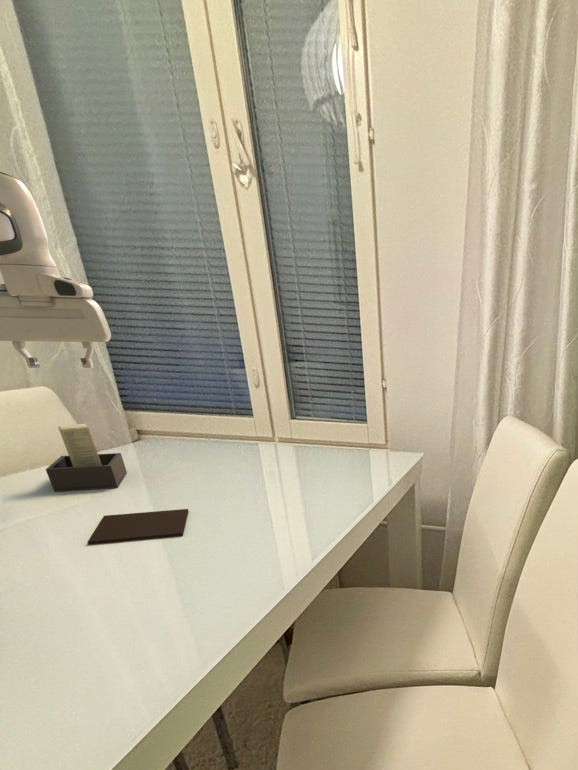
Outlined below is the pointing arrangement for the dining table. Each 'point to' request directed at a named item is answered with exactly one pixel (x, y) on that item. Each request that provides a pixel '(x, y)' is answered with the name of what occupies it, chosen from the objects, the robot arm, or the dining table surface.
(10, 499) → the dining table surface
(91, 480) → the bin
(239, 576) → the dining table surface
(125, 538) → the mat
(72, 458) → the box
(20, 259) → the robot arm
